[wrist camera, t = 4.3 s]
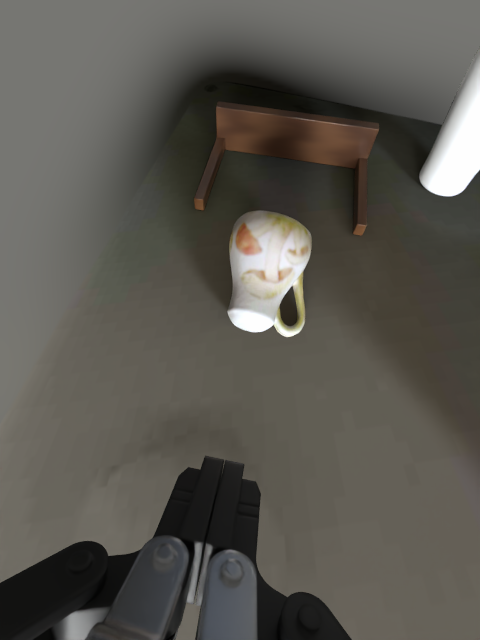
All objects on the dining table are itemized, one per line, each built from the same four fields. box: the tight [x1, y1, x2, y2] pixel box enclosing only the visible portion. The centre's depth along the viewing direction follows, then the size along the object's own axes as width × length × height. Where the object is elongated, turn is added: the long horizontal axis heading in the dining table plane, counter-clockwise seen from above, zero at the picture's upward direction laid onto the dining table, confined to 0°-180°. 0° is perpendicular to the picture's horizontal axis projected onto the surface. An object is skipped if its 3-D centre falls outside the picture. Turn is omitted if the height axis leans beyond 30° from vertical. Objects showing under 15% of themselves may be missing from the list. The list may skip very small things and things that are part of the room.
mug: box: [228, 210, 312, 337], centre depth 30 cm, size 8×10×10 cm
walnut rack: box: [194, 101, 379, 235], centre depth 37 cm, size 18×12×5 cm
